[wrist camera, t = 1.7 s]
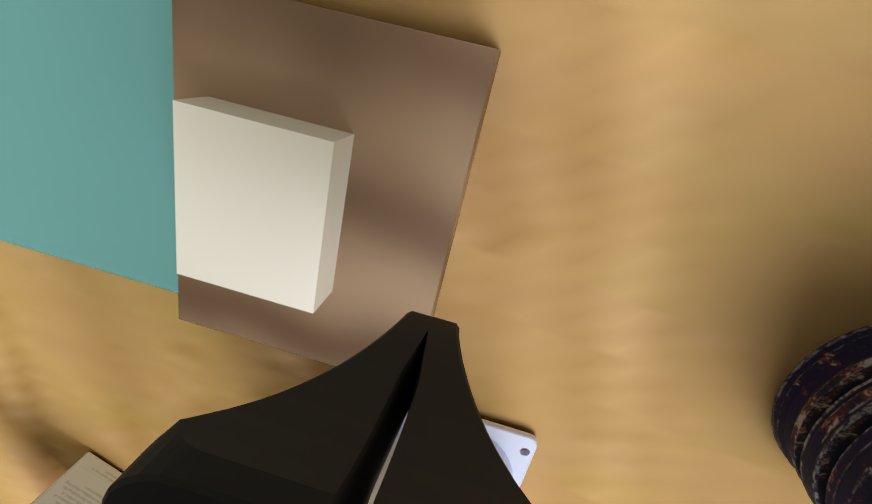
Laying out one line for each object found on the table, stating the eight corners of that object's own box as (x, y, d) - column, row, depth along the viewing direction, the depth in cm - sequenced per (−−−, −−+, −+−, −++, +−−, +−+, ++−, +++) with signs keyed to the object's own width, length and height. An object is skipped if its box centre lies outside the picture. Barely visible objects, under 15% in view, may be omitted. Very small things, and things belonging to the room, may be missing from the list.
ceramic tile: (332, 291, 20) (312, 313, 18) (207, 255, 20) (176, 273, 19) (354, 134, 17) (334, 142, 15) (208, 96, 18) (172, 100, 16)
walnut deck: (422, 358, 24) (412, 389, 21) (210, 295, 24) (178, 319, 22) (500, 51, 17) (497, 49, 15) (214, -17, 18) (171, -29, 16)
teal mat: (204, 293, 25) (196, 298, 24) (-17, 228, 26) (-29, 231, 25) (205, -20, 18) (195, -22, 18) (-85, -89, 19) (-103, -93, 19)
